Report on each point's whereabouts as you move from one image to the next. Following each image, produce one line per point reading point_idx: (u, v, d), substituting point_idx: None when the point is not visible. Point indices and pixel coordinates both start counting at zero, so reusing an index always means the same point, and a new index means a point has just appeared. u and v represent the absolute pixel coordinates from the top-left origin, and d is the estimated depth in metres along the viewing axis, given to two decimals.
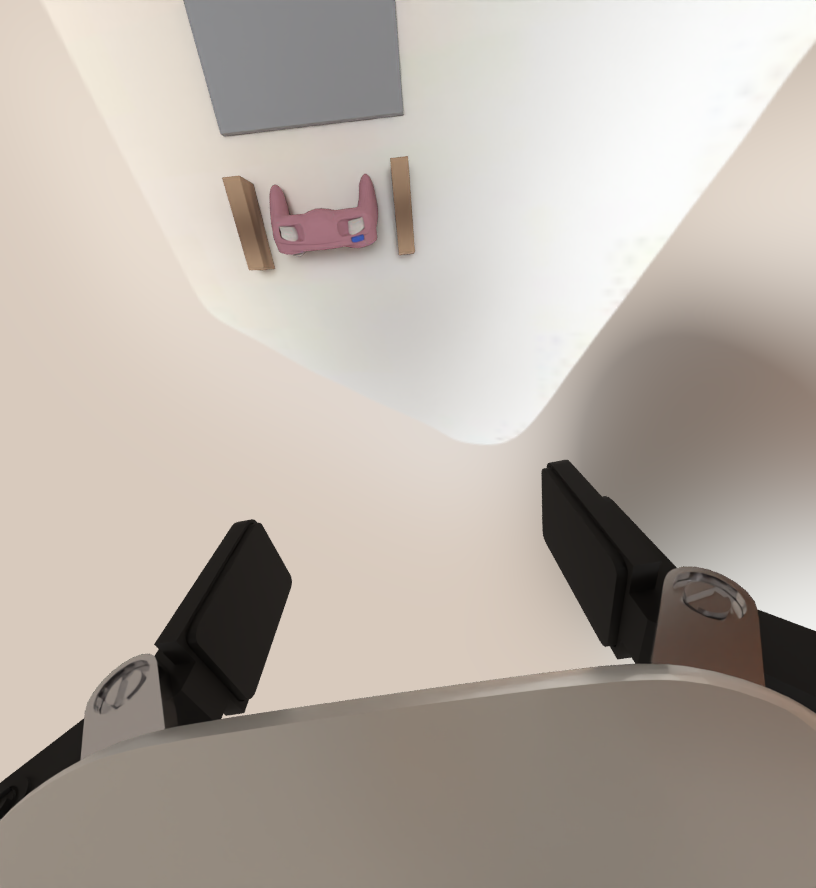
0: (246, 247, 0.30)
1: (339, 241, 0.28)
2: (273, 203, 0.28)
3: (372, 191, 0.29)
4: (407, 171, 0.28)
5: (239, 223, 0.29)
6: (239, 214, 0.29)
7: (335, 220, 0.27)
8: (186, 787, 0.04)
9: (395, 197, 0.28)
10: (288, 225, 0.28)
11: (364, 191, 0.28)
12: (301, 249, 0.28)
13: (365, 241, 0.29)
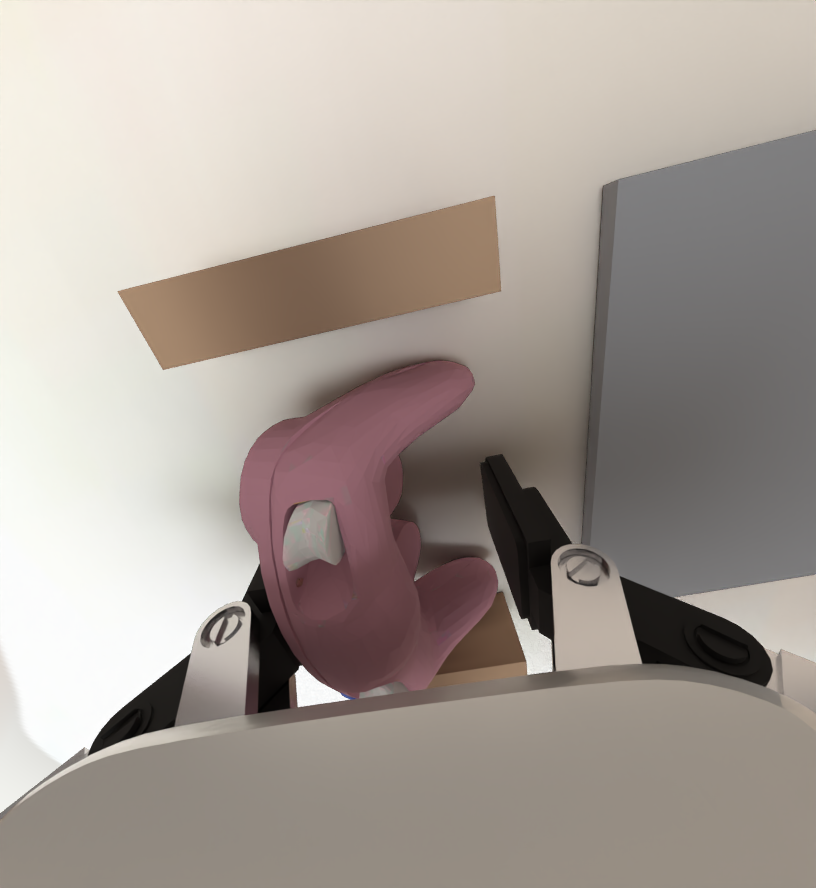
0: (219, 290, 0.06)
1: (330, 684, 0.08)
2: (420, 417, 0.07)
3: None
4: None
5: (315, 265, 0.06)
6: (353, 271, 0.06)
7: (388, 680, 0.08)
8: (186, 787, 0.04)
9: (456, 673, 0.12)
10: (343, 540, 0.06)
11: (467, 627, 0.11)
12: (266, 585, 0.07)
13: None
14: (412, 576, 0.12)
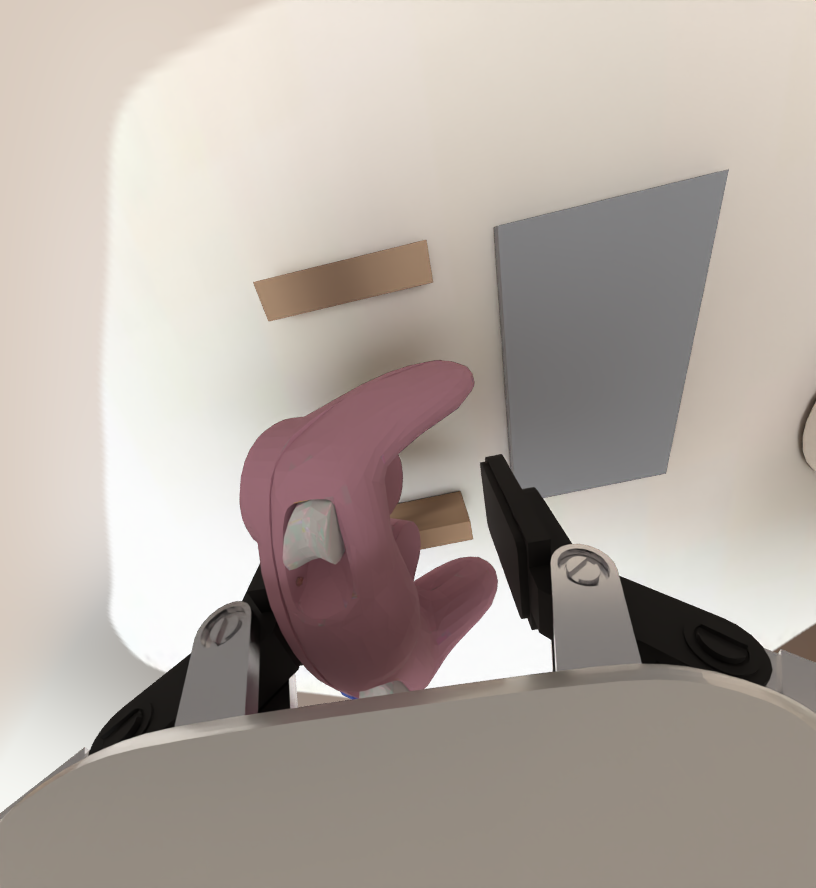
0: (300, 281, 0.13)
1: (330, 684, 0.08)
2: (420, 417, 0.07)
3: None
4: (456, 540, 0.20)
5: (346, 270, 0.13)
6: (363, 272, 0.13)
7: (388, 679, 0.08)
8: (186, 787, 0.04)
9: (426, 531, 0.19)
10: (343, 540, 0.06)
11: (467, 627, 0.11)
12: (266, 584, 0.07)
13: None
14: (412, 576, 0.12)
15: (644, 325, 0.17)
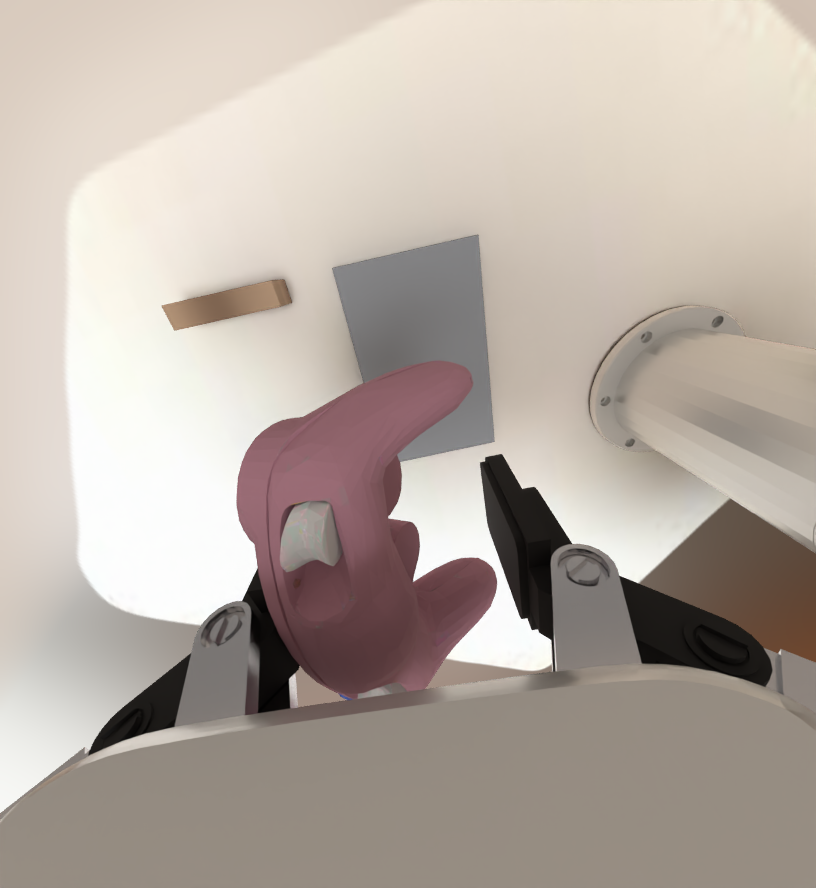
0: (192, 305, 0.20)
1: (328, 686, 0.08)
2: (418, 417, 0.07)
3: None
4: None
5: (222, 298, 0.20)
6: (233, 300, 0.20)
7: (386, 681, 0.08)
8: (186, 787, 0.04)
9: None
10: (341, 541, 0.06)
11: (466, 628, 0.11)
12: (264, 586, 0.07)
13: None
14: (411, 577, 0.12)
15: (449, 334, 0.24)
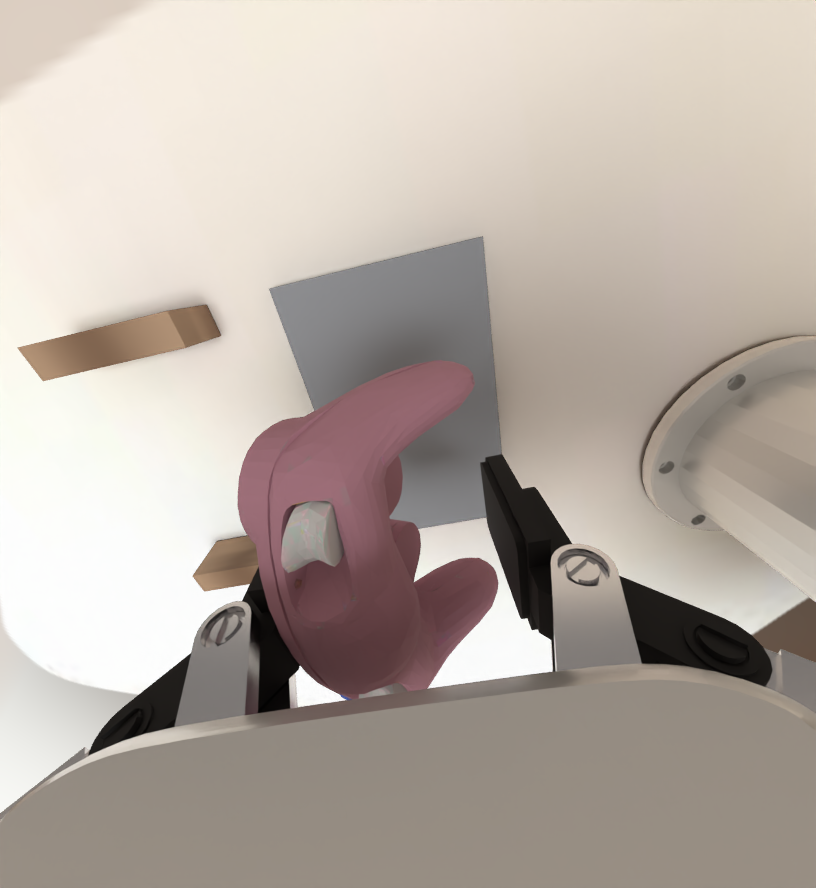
0: (61, 347, 0.14)
1: (329, 686, 0.08)
2: (419, 417, 0.07)
3: None
4: None
5: (100, 337, 0.14)
6: (117, 339, 0.14)
7: (388, 682, 0.08)
8: (186, 787, 0.04)
9: (256, 566, 0.20)
10: (342, 542, 0.06)
11: (467, 629, 0.11)
12: (265, 586, 0.07)
13: None
14: (412, 577, 0.12)
15: None
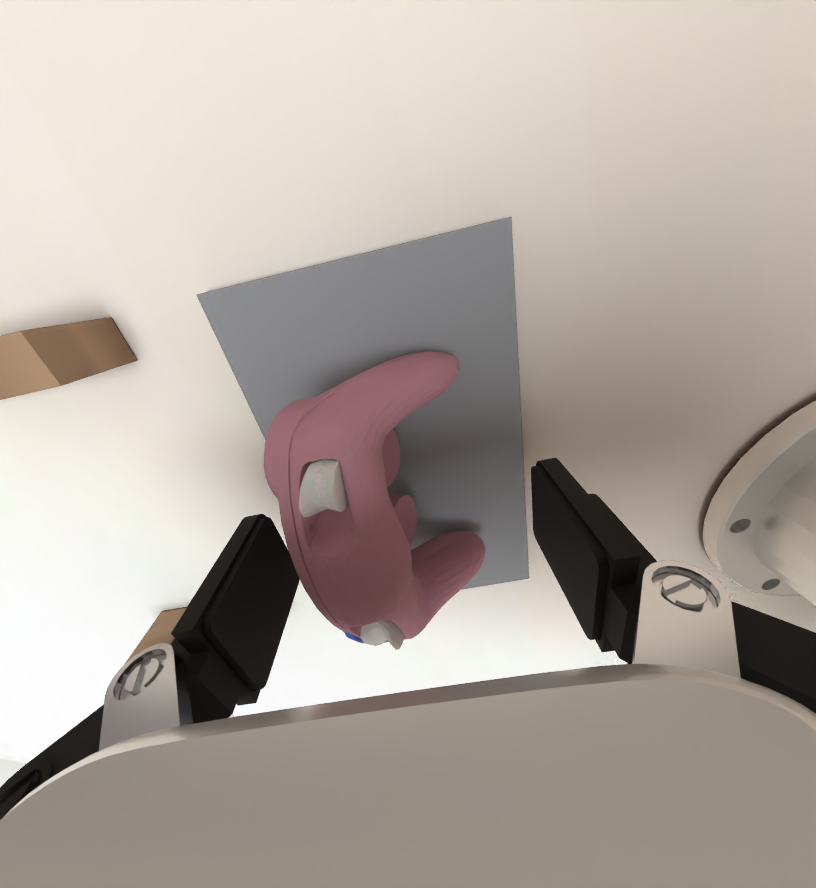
0: None
1: (335, 621, 0.10)
2: (411, 396, 0.09)
3: None
4: None
5: None
6: None
7: (384, 616, 0.09)
8: (186, 787, 0.04)
9: None
10: (347, 493, 0.08)
11: (456, 587, 0.13)
12: (285, 530, 0.08)
13: None
14: (408, 543, 0.13)
15: (448, 415, 0.12)
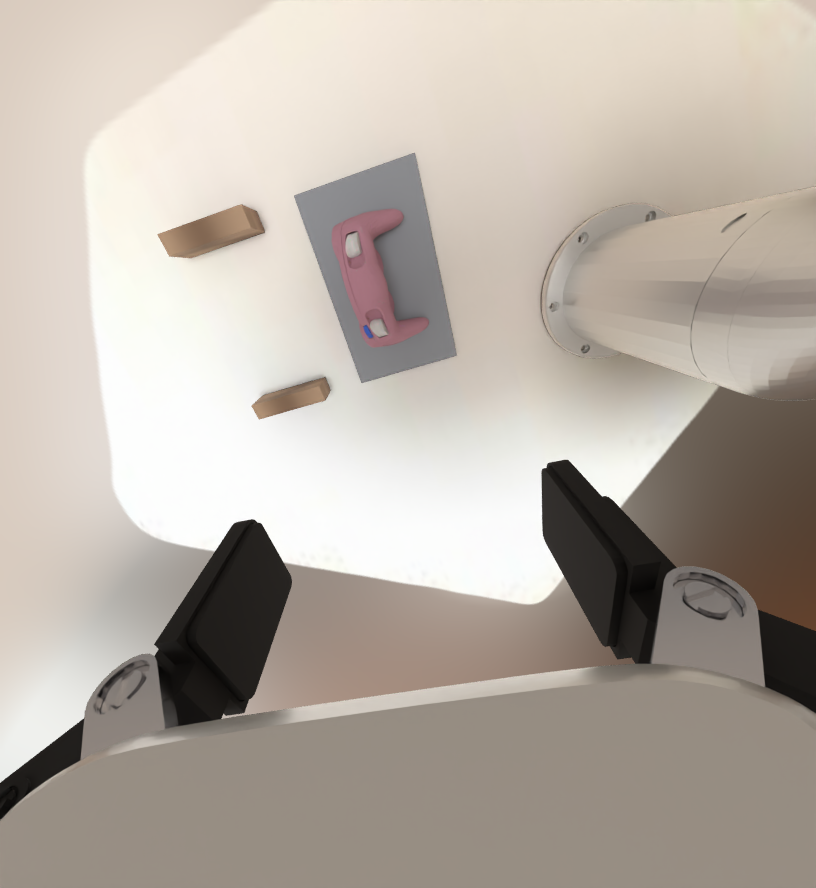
0: (181, 232, 0.24)
1: (359, 312, 0.25)
2: (382, 217, 0.24)
3: (415, 334, 0.29)
4: (315, 401, 0.31)
5: (203, 224, 0.24)
6: (213, 225, 0.24)
7: (378, 306, 0.25)
8: (186, 787, 0.04)
9: (293, 395, 0.31)
10: (361, 245, 0.23)
11: (412, 327, 0.28)
12: (340, 263, 0.23)
13: (368, 339, 0.27)
14: None
15: (401, 250, 0.28)
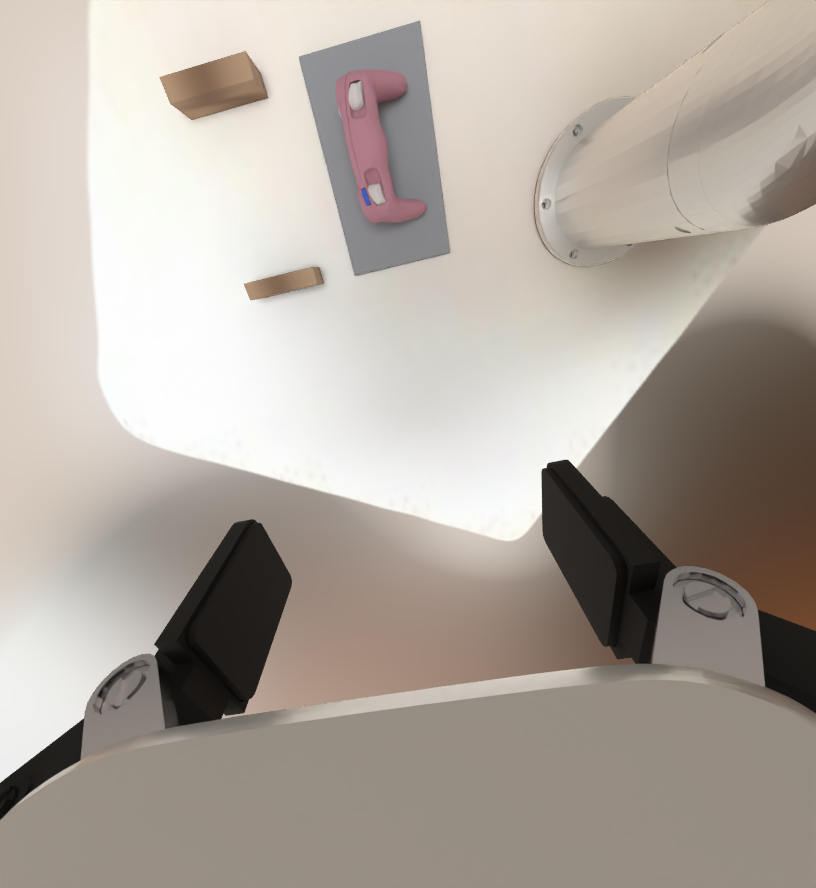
0: (184, 77, 0.25)
1: (358, 171, 0.25)
2: (386, 76, 0.24)
3: (412, 215, 0.29)
4: (307, 284, 0.32)
5: (206, 70, 0.24)
6: (216, 72, 0.25)
7: (377, 165, 0.25)
8: (186, 787, 0.04)
9: (286, 275, 0.31)
10: (364, 96, 0.24)
11: (410, 204, 0.28)
12: (342, 114, 0.24)
13: (365, 207, 0.27)
14: None
15: (401, 128, 0.28)
